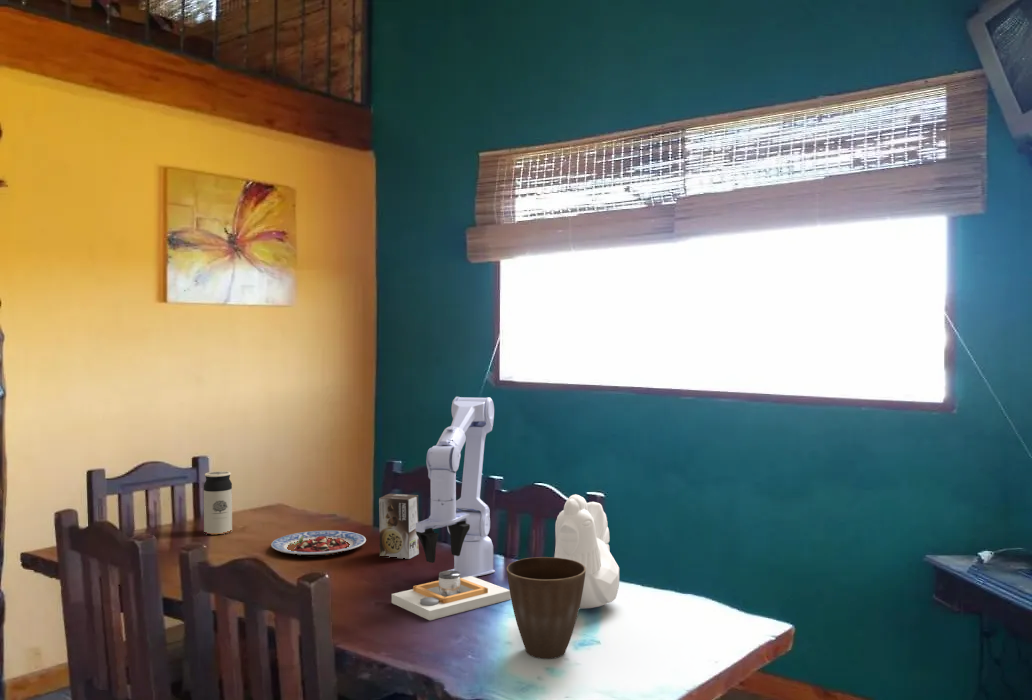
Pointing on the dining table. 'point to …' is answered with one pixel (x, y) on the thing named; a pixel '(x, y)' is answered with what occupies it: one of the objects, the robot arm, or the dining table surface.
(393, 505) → the coffee box
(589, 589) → the decorative rooster
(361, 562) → the dining table surface
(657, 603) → the dining table surface
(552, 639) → the plant pot
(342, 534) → the ceramic plate
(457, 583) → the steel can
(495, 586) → the white flat frame
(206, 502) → the travel mug
